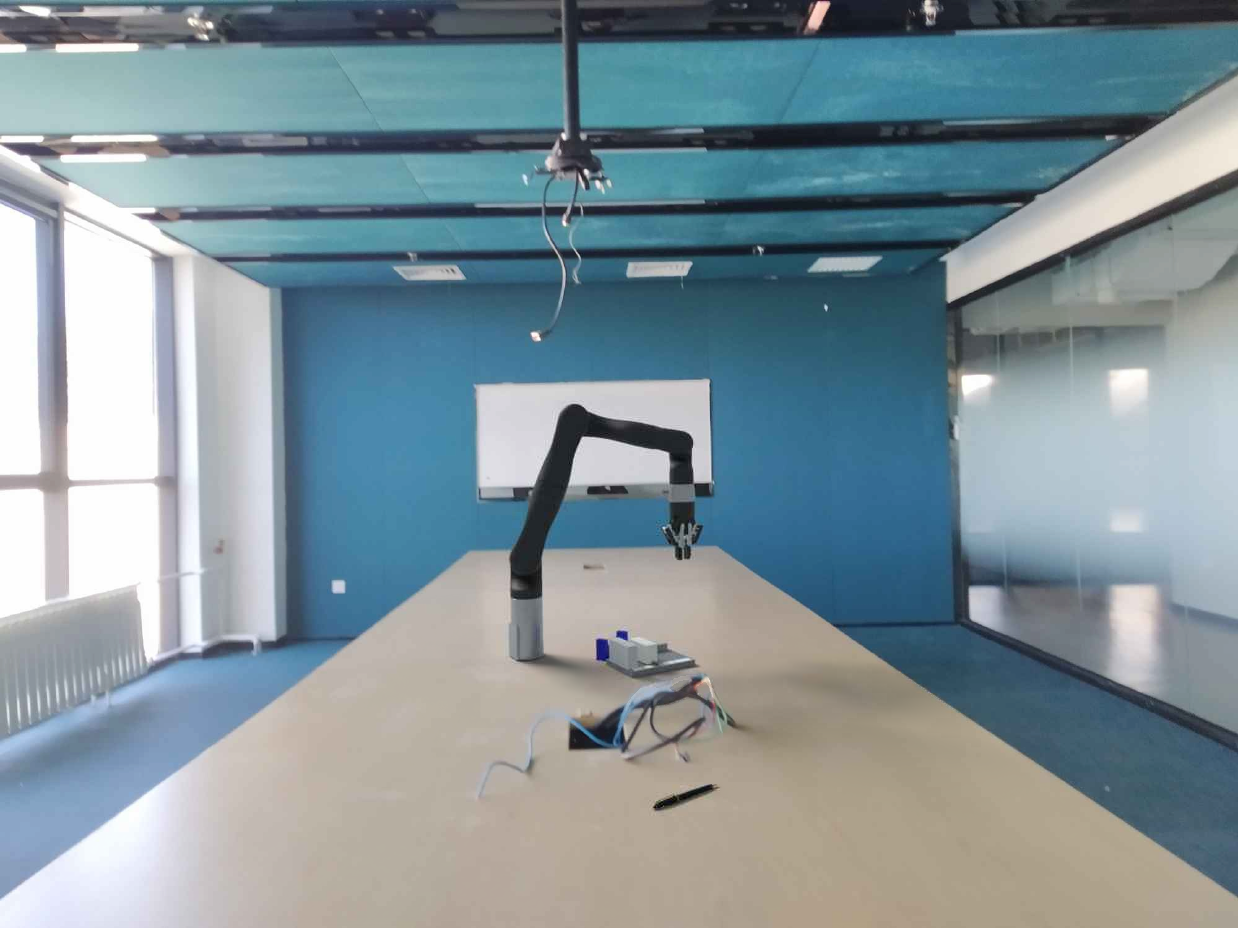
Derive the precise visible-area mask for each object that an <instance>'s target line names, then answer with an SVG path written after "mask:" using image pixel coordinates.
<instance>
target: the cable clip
mask: <svg viewBox="0 0 1238 928" xmlns="http://www.w3.org/2000/svg"><path fill="white" fill-rule="evenodd" d="M615 634H616V635H615V638H618V637H619V638H621V639H624V640H626V641H628V642H629V633H628V631H627V630H617V631H616V633H615ZM595 648H596V649H595V654H596V655H595V656H596V657H595V658H596V661H600V660H601V662H606V659H609V639H608V638H607V639H606V638H602V637H601V638H600V637H598V638H596V640H595Z"/></svg>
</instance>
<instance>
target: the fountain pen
mask: <svg viewBox="0 0 1238 928" xmlns="http://www.w3.org/2000/svg"><path fill="white" fill-rule="evenodd" d="M717 785H719V783H714V784H712V783H709V784H707V785H703V786H700V787H696V788H694V789H691V790H688V791H685V792H682V793H679V794H676V795H675V794H674V793H671V794H669V795H668V796H665V797H662V798H660V799H658V800H656V801H655V802H654V805H653V806H652V809H653V808H660V809H662V808H661V807H663V806H667V807H669V806H668V805H670V806H673V805H675V804H678V803H680V802H682V800H683V801H685V800H688V799H691V798H693V797H695V796H694V795H696V796H698V795H700V794H699V793H701V794H703V793H705V791H706V792H707V790H708V791H710V790H713V789H712V788H714V787H715V786H716V787H717ZM702 792H703V793H702ZM697 794H698V795H697ZM692 796H693V797H692ZM690 797H691V798H690ZM687 798H688V799H687ZM674 803H675V804H674ZM672 804H673V805H672Z"/></svg>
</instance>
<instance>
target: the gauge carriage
mask: <svg viewBox="0 0 1238 928" xmlns="http://www.w3.org/2000/svg"><path fill="white" fill-rule="evenodd" d="M628 642H631V643H633V644H635V645H637V654H638V661H640V662H642V663H644V664H646V665H647V664H655V665H659V663H657V644H658V643H655V642H653V641H650V640H648V639H646V638H643V637H641V636H638V637H631V638H628Z"/></svg>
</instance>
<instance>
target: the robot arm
mask: <svg viewBox="0 0 1238 928" xmlns="http://www.w3.org/2000/svg"><path fill="white" fill-rule="evenodd" d="M582 438H596V439H597V438H598V439H603V440H604V439H605V440H609V441H613V442H618V443H622V444H625V445H629V446H633V447H638V448H643V449H649V450H658V451H662V452H666V453H668V459H669V474H668V476H669V477H668V478H669V481H668V482H669V488H668V514H669V518H670V519H669V520H668V521H669V522H668V524H667V525H666V526H663V527H661V531H662V533H663V535H664V538H665V539H666V542H667V543H668V545H669V546H673V547H674V558H676V561H683V559H684V560H690V559H691V557H692V546H693V545H695V544H697V542H698V541H699V537H700V535H701V533H702V531H703V529H704V525H703V524H699V523H697V521H696V519H695V516H696V493H695V487H694V486H695V484H694V483H695V482H694V476H695V475H694V468H693V448H694V439H693V437H692V435H691V434H690V433H688V432H687V431H684V430H679V429H674V428H667V427H666V428H665V427H660V426H657V425H654V424H649V423H643V422H639V421H633V420H624V419H616V418H611V417H605V416H601V415H600V414H599V415H598V414H595V413H593V412H590V411H588V410H587V409H586V408H585V407H584V406H583V405H581V404H578V403H569V404H568V405H565V406H564V407H563V408H562V409H561V411H560V412H559V414H558V417H557V421H556V425H555V430H554V435H553V438H552V441H551V445H550V447H549V450H548V452H547V454H546V456H545V459H544V460H543V463H542V466H541V467H540V471H539V473H538V475H537V477H536V480H535V483H534V486H533V489H532V491H531V494H530V499H529V503H528V506H527V510H526V511H527V512H526V516H525V520H524V523H523V527H522V529H521V531H520V533H519V536H518V537H517V540H516V542H515V544H514V545H513V547H512V548H511V551H510V552H509V555H508V556H509V558H508V561H509V569H510V570H509V571H510V574H509V575H510V582H509V584H510V587H509V593H510V595H509V596H510V599H509V600H510V622H509V623H508V656H509V657H511V658H512V659H514V660H515V661H523V660H524V661H528V660H535V659H536V660H537V659H540V658H542V657H544V655H545V654H544V649H545V648H544V647H545V646H544V616H543V615H544V610H543V609H544V608H543V602H544V601H543V555H544V554H543V553H544V550H545V545H546V543H547V538H548V535H549V532H550V530H551V528H552V526H553V523H554V522H555V520H556V517H557V515H558V513H559V511H560V509H561V505H562V504H563V502H564V499H565V497H566V493H567V490H568V487H569V484H570V481H571V475H572V471H573V464H574V459H575V455H576V452H577V450H578V447H579V445H580V443H581V441H582Z"/></svg>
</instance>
